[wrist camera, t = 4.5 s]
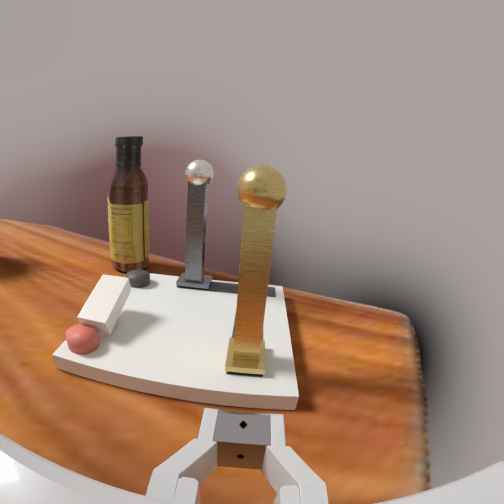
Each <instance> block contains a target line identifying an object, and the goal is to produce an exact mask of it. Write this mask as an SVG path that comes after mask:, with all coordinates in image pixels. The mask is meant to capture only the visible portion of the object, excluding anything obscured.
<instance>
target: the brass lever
mask: <svg viewBox="0 0 504 504" xmlns="http://www.w3.org/2000/svg"><path fill="white" fill-rule="evenodd" d="M286 191H287V190H286V183H285V180H284V178H283V176H282V175H281V174H280V173H279V172H278V171H277V170H276V169H274V168H272V167H270V166H265V165H259V166H254V167H252V168H250V169H248V170H247V171H245V172H244V174H243V175H242V176H241V178H240V180H239V183H238V189H237V192H238V197H239V199H240V201H241V203H242V204H243V206H244V218H243V231H242V243H241V256H240V269H239V281H238V294H237V308H236V322H235V335H234V338H230V340H229V346H228V352H227V358H226V364H225V371H229V372H239V373H250V374H263V375H265V341H264V340H261V339H262V331H263V323H264V315H265V307H266V299H267V290H268V282H269V273H270V264H271V255H272V246H273V236H274V228H275V217H276V209H278V208H279V207H280V206H281V204H282V203H283V201H284V199H285V197H286Z"/></svg>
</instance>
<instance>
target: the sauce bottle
mask: <svg viewBox="0 0 504 504" xmlns="http://www.w3.org/2000/svg"><path fill="white" fill-rule="evenodd" d="M142 144H143V137H142V136H118V137H116V141H115V146H116V163H115V170H114V173H113V177H112V181H111V185H110V188H109V191H108V224H109V241H110V253H111V259H112V264H113V266H114V268H115V269H117V270H119V271H123V272H129V271H132V270H143V269H145V268H146V267H147V266H148V264H149V257H148V256H149V254H150V252H149V225H148V198H147V196H148V184H147V180H146V177H145V175H144V173H143V171H142V170H141V168H140V166H141V161H140V160H141V147H142Z"/></svg>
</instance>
